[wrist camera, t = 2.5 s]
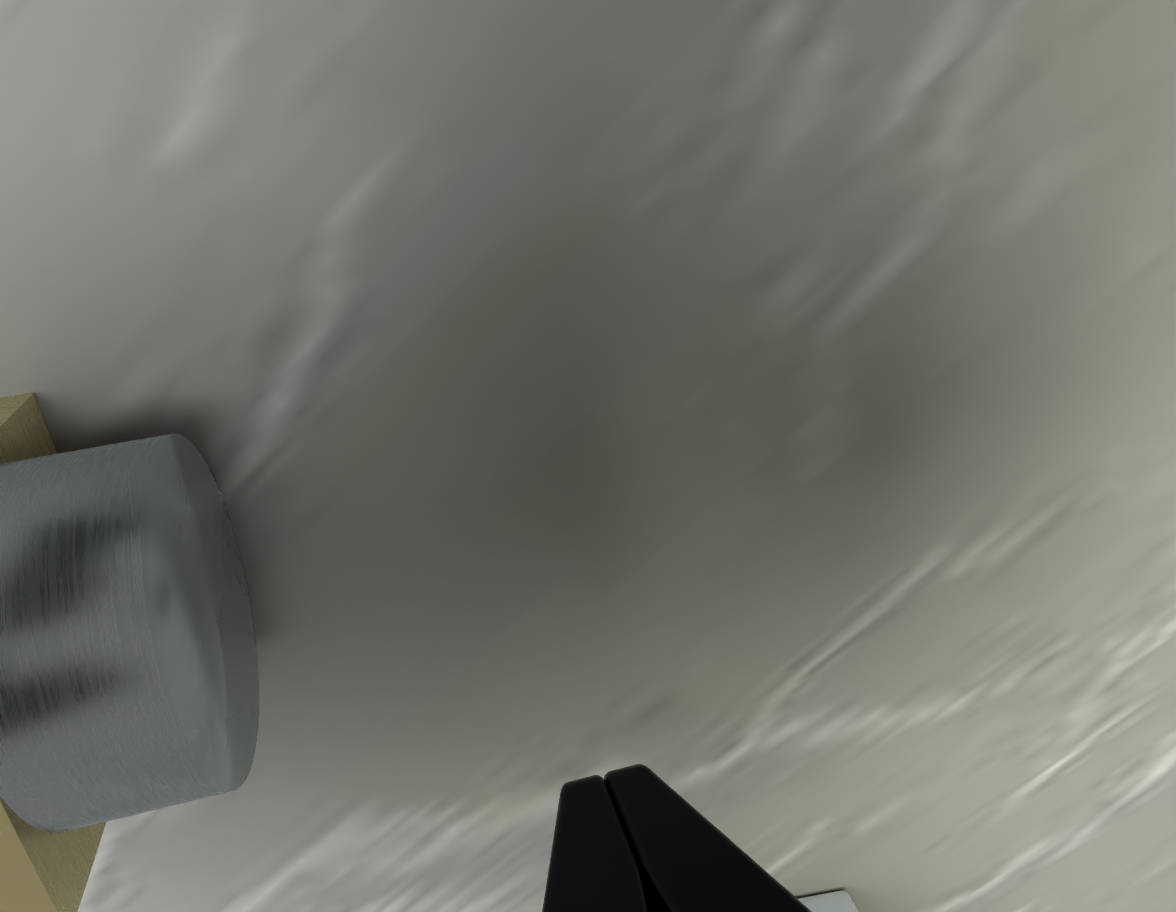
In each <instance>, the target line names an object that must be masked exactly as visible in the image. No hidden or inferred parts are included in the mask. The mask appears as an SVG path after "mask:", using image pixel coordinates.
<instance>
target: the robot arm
mask: <svg viewBox="0 0 1176 912" xmlns="http://www.w3.org/2000/svg"><path fill="white" fill-rule="evenodd" d="M542 912H812V911H810V910H809V909H808V908H807V907H806V906H805V905H804V904H803V903H801V902H800V901H799V900H798V899H797V898H796V897H795V896H793V895H792V894H791V893H790V892H789V891H788V890H787V889H785V888H784V887H783V886H782V885H781V884H780V883H779V882H777V881H776V880H775V879H774V878H773V877H772V876H771V875H770V874H768V873H767V872H766V871H765V870H764V869H763V868H762V867H760V866H759V865H758V864H757V863H756V862H755V861H754V860H752V859H751V858H750V857H749V856H748V855H747V854H746V853H744V852H743V851H742V850H741V849H740V848H739V847H738V846H736V845H735V844H734V843H733V842H732V841H731V840H730V839H729V838H727V837H726V836H725V835H724V834H723V833H722V832H721V831H719V830H718V829H717V828H716V827H715V826H714V825H713V824H711V823H710V822H709V821H708V820H707V819H706V818H705V817H703V816H702V815H701V814H700V813H699V812H698V811H697V810H696V809H694V808H693V807H692V806H691V805H690V804H689V803H688V802H686V801H685V800H684V799H683V798H682V797H681V796H680V795H678V794H677V793H676V792H675V791H674V790H673V789H672V788H670V787H669V786H668V785H667V784H666V783H665V782H664V781H662V780H661V779H660V778H659V777H658V776H657V775H656V774H655V773H653V772H652V771H651V770H650V769H649V768H647V767H646V766H644V765H641V764H637V765H633V766H629V767H625V768H621V769H617V770H613V771H610V772H608V773H607V774H606V775H605V777H604V779H603V778H602V777H601V776H599V775H594V776H590V777H586V778H582V779H579V780H575V781H571V782H567V783H565V784H564V785H563V787H562V789H561V793H560V799H559V806H558V812H557V819H556V826H555V832H554V839H553V845H552V852H551V858H550V865H549V872H548V878H547V885H546V891H545V898H544V904H543V911H542Z"/></svg>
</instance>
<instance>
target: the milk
mask: <svg viewBox="0 0 1176 912" xmlns="http://www.w3.org/2000/svg"><path fill="white" fill-rule="evenodd" d="M798 900H799V901H800V902H801V903H803V904H804V905H805V906H806V907H807V908H808V909H809V910H810V911H812V912H859V911H858V909H857V908H856V906H855V904H854V903H853V901H852V899H851V898H850V896H849V895H848V893H847V892H846V891H836V892H831V893H826V894H820V895H815V896H809V897H804V898H798Z"/></svg>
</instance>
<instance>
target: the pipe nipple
mask: <svg viewBox="0 0 1176 912" xmlns="http://www.w3.org/2000/svg"><path fill="white" fill-rule="evenodd" d="M258 716H259V683H258V665H257V652H256V642H255V634H254V626H253V618H252V612H251V606H250V600H249V594H248V589H247V584H246V579H245V574H244V570H243V565H242V561H241V557H240V553H239V549H238V546H237V543H236V539H235V536H234V533H233V530H232V527H231V523H230V520H229V517H228V514H227V510H226V507H225V504H224V501H223V498H222V496H221V493H220V491H219V489H218V486H217V484H216V482H215V479H214V477H213V475H212V473H211V471H210V469H209V467H208V465H207V464H206V462H205V460H204V459H203V457H202V455H201V454H200V453H199V451H198V450H197V449H196V447H195V446H194V445H193V444H192V443H191V442H190V441H189V440H188V439H187V438H185V437H184V436H182V435H180V434H176V433H173V434H167V435H161V436H156V437H150V438H144V439H139V440H133V441H127V442H121V443H116V444H110V445H104V446H99V447H93V448H87V449H81V450H76V451H70V452H64V453H59V454H57V452H56V449H55V447H54V444H53V442H52V439H51V436H50V434H49V431H48V429H47V426H46V424H45V421H44V418H43V416H42V413H41V411H40V408H39V406H38V403H37V400H36V398H35V395H34V393H27V394H21V395H15V396H9V397H3V398H0V912H77V911H78V908H79V905H80V902H81V899H82V896H83V893H84V890H85V887H86V883H87V880H88V877H89V874H90V871H91V868H92V865H93V862H94V859H95V856H96V852H97V849H98V846H99V843H100V840H101V837H102V834H103V831H104V828H105V824H106V821H110V820H114V819H118V818H122V817H127V816H131V815H135V814H139V813H143V812H147V811H151V810H155V809H159V808H163V807H168V806H172V805H176V804H180V803H184V802H188V801H192V800H196V799H200V798H204V797H208V796H213V795H217V794H221V793H225V792H229V791H233V790H236V789H238V788H239V787H240V786H241V785H242V784H243V783H244V781H245V780H246V778H247V776H248V773H249V771H250V769H251V765H252V761H253V758H254V753H255V747H256V741H257V731H258Z"/></svg>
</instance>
